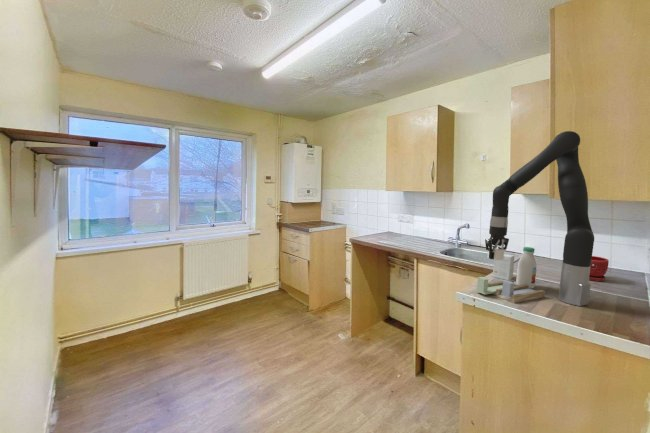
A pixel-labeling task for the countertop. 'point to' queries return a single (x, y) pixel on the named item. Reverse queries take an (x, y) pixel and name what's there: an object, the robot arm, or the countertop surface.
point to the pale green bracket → (486, 286)
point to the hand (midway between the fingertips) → (495, 258)
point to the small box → (504, 267)
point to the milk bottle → (526, 268)
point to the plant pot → (598, 268)
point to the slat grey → (512, 289)
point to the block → (497, 254)
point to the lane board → (517, 297)
